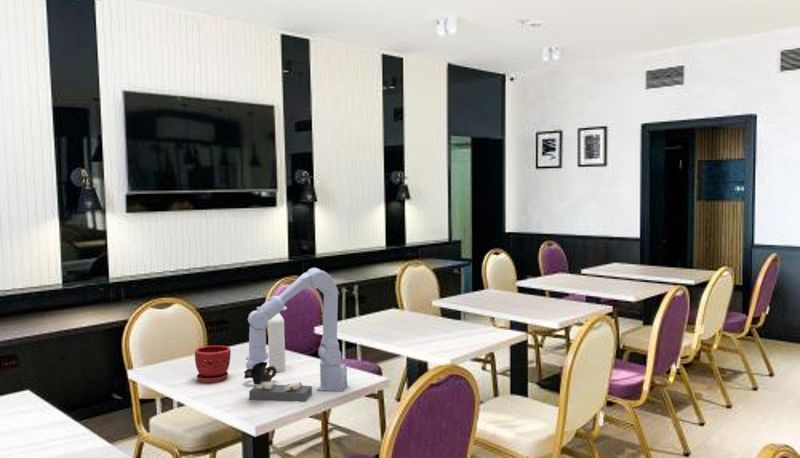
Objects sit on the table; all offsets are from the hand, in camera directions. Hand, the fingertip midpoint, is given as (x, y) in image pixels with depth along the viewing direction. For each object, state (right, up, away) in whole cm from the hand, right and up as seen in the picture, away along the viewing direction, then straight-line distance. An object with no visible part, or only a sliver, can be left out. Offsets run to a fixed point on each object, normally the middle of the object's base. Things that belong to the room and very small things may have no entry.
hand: (257, 383), depth 218 cm
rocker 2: (+13, 0, -2) cm, 13 cm away
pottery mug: (-2, -4, +17) cm, 18 cm away
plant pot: (-22, -4, +23) cm, 32 cm away
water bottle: (+1, -3, +34) cm, 34 cm away
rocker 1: (+3, 0, 0) cm, 3 cm away
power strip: (+8, -5, +1) cm, 9 cm away
